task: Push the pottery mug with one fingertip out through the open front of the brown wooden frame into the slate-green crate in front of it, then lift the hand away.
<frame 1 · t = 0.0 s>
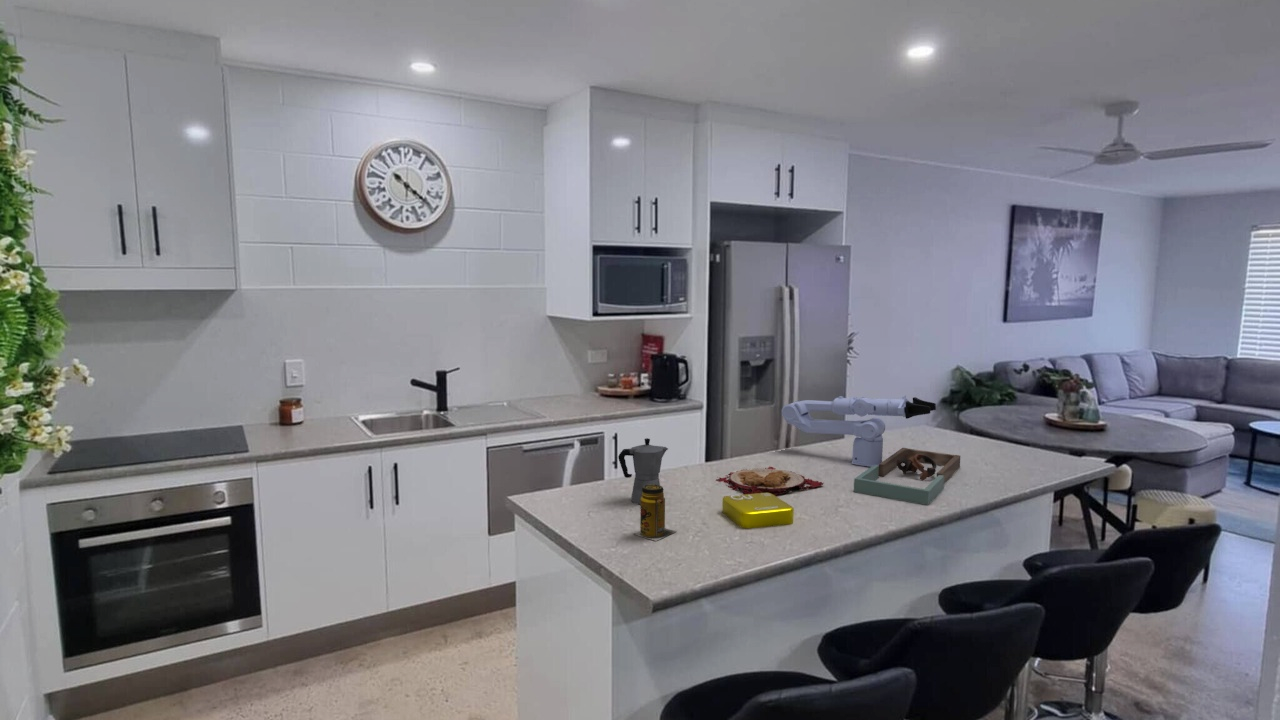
hand: (932, 408, 223), 22 cm above the countertop, tool horizontal, fingers open, 7 cm apart
plate with food: (764, 485, 214), on the countertop
element tile: (756, 518, 182), on the countertop
green crate: (899, 489, 207), on the countertop
coffeepot: (643, 501, 195), on the countertop
condiment: (655, 534, 170), on the countertop
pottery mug: (914, 477, 222), on the countertop
brown wooden frame: (919, 472, 227), on the countertop
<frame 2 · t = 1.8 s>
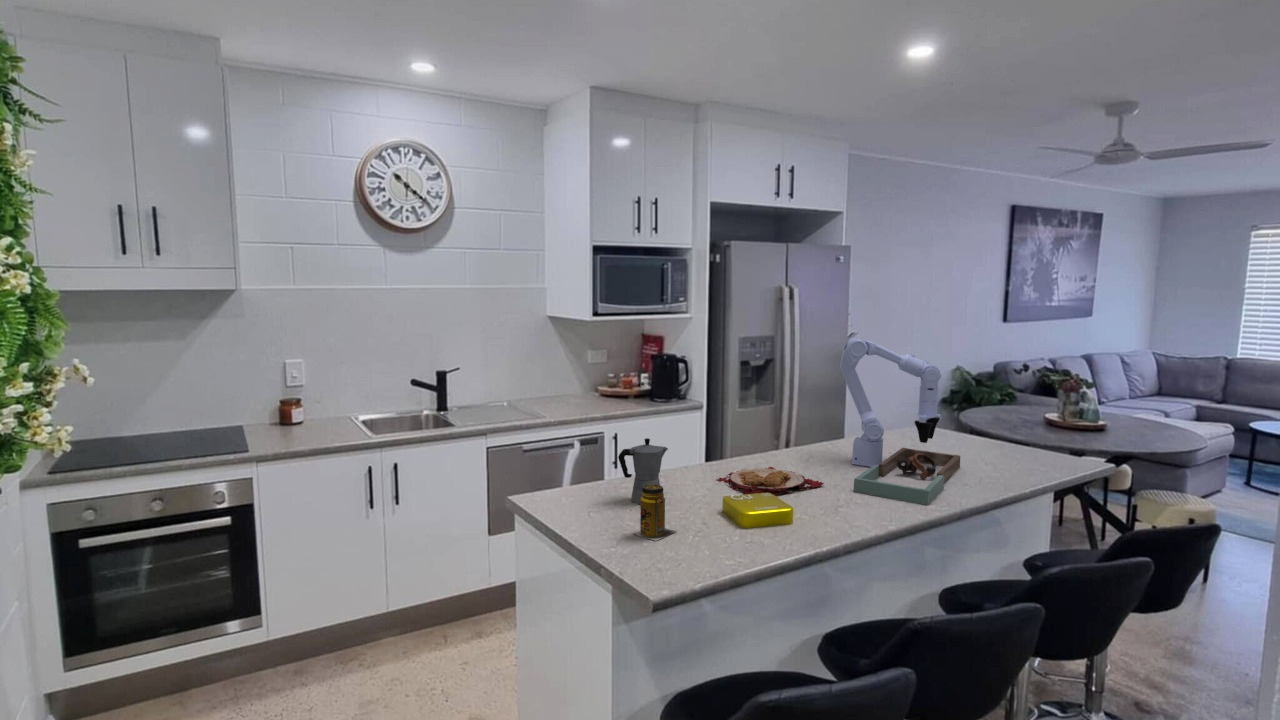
hand: (926, 440, 231), 9 cm above the countertop, tool pointing down, fingers open, 7 cm apart
nothing on the countertop moved.
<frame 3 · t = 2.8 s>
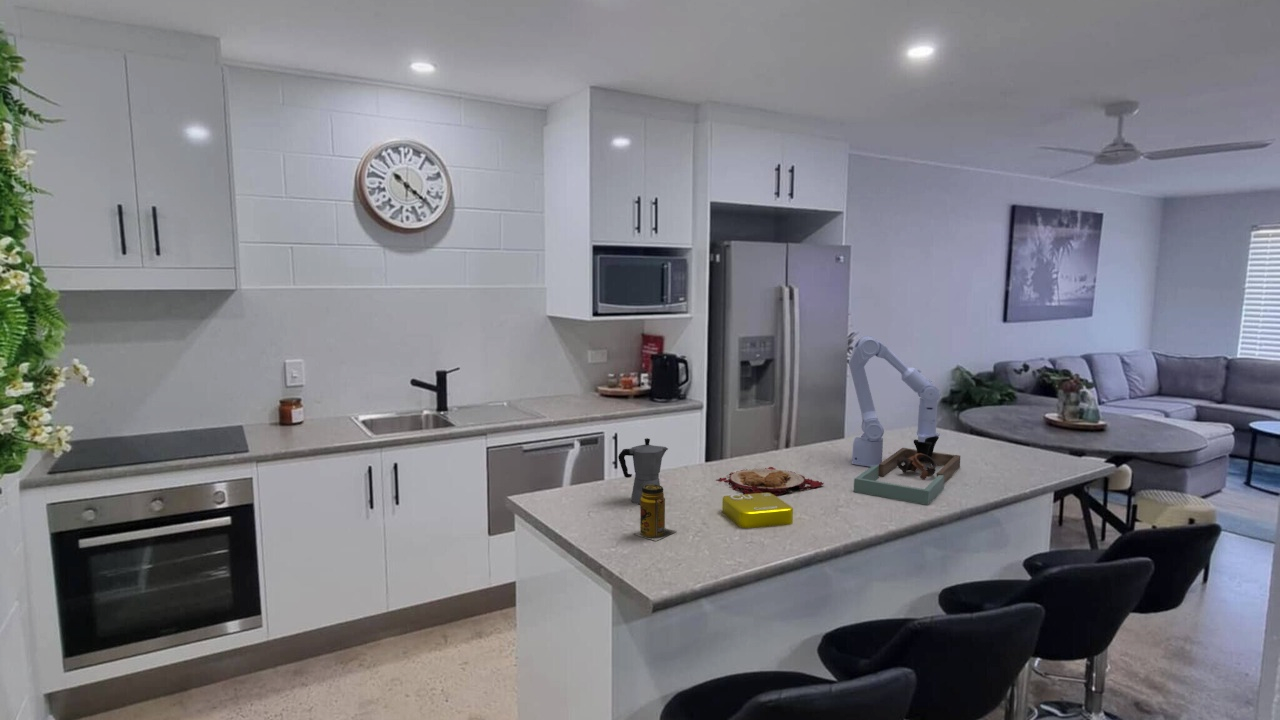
hand: (925, 459, 232), 3 cm above the countertop, tool pointing down, fingers open, 7 cm apart
nothing on the countertop moved.
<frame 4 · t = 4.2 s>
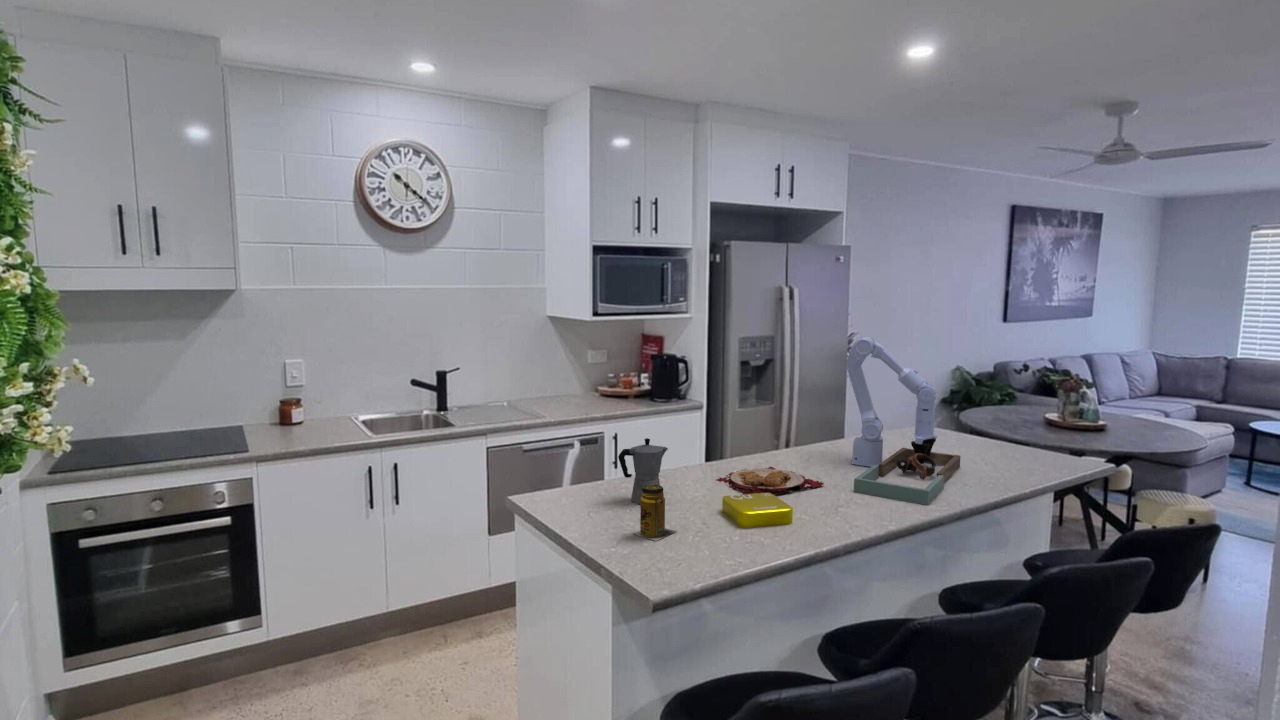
hand: (922, 461, 229), 3 cm above the countertop, tool pointing down, fingers open, 6 cm apart
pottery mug: (914, 476, 223), on the countertop, touching gripper
everything else where it was.
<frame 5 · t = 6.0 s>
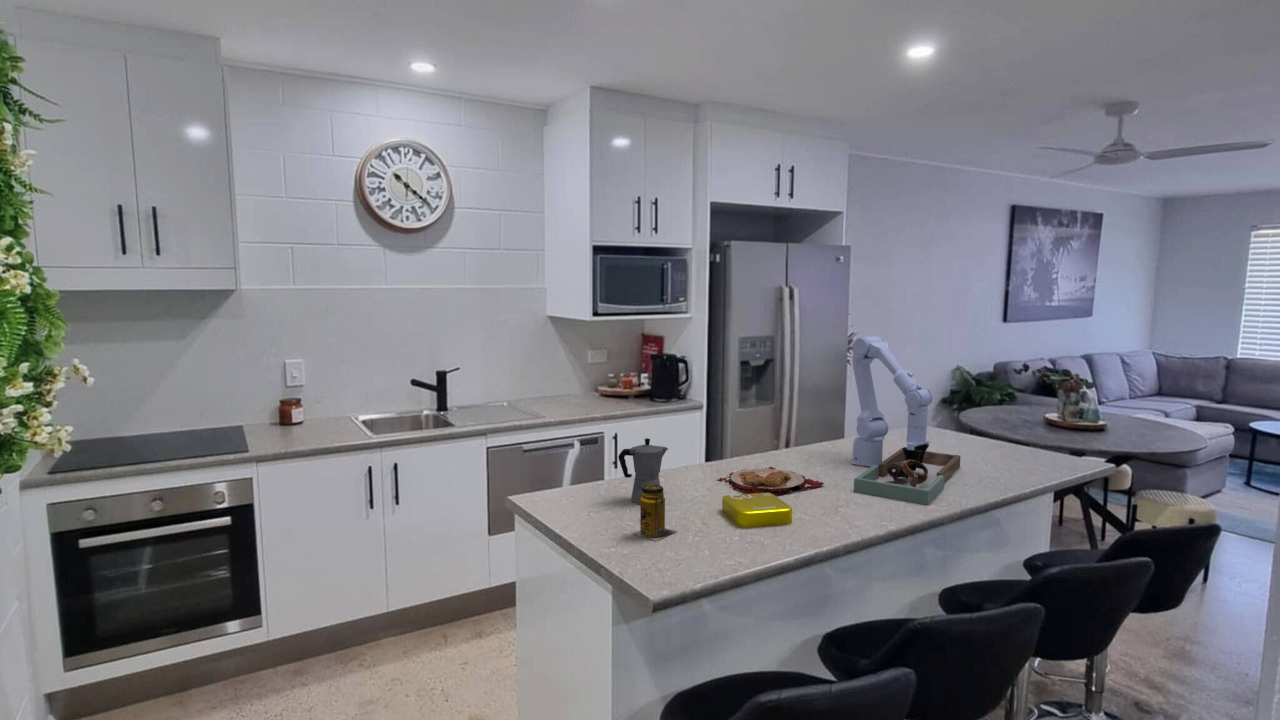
hand: (914, 467, 221), 3 cm above the countertop, tool pointing down, fingers open, 7 cm apart
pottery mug: (905, 483, 214), on the countertop, touching gripper
everything else where it was.
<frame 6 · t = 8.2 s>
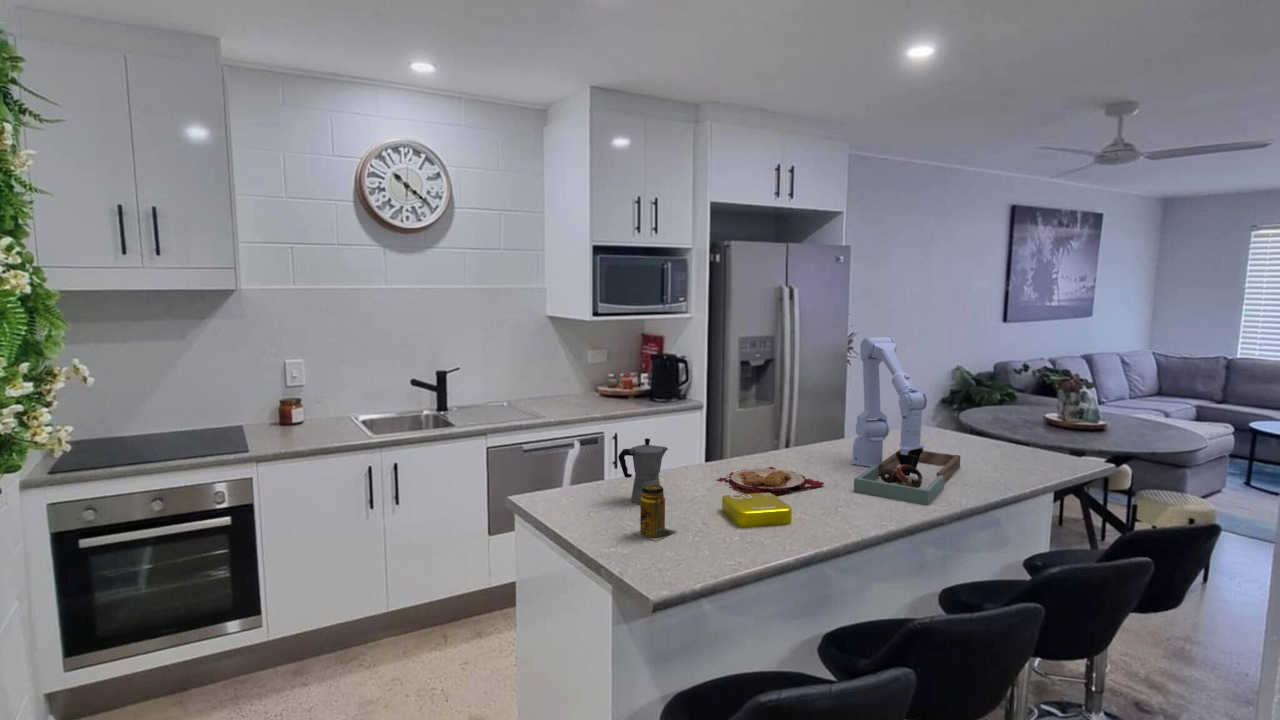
hand: (908, 472, 215), 3 cm above the countertop, tool pointing down, fingers open, 7 cm apart
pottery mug: (899, 489, 209), on the countertop, touching gripper
everything else where it was.
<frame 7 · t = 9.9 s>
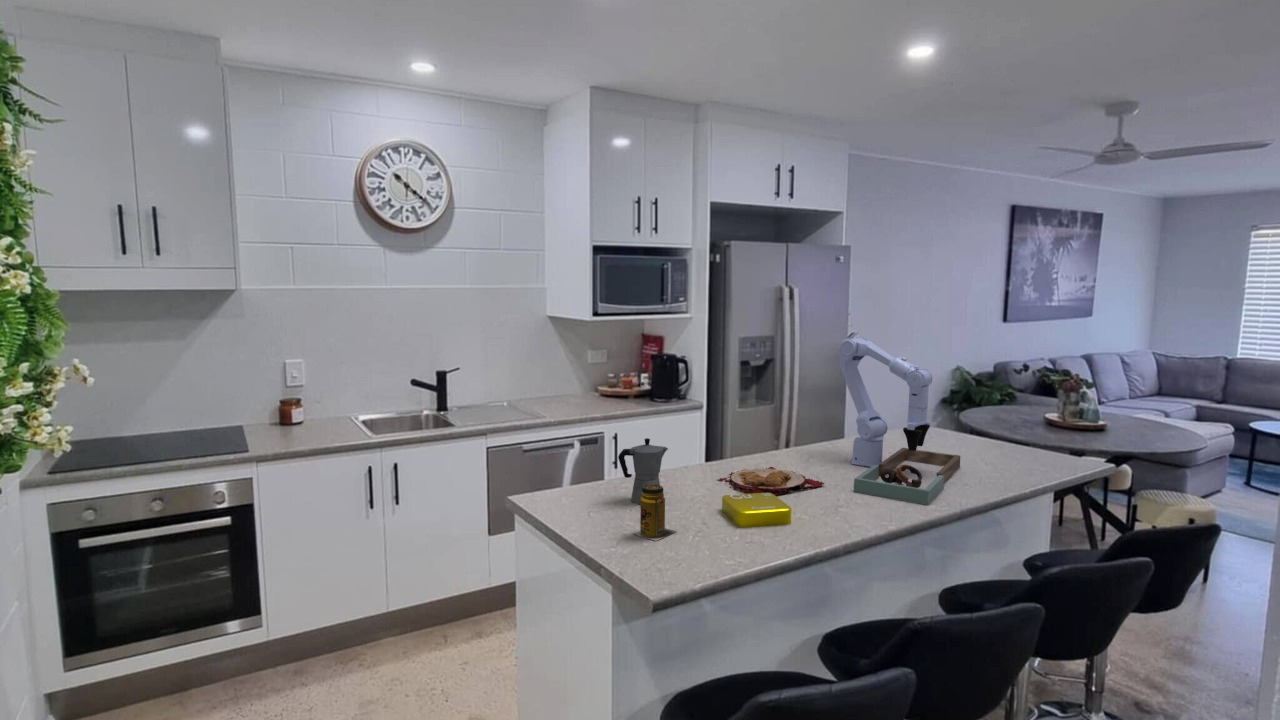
hand: (915, 448, 223), 9 cm above the countertop, tool pointing down, fingers open, 7 cm apart
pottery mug: (899, 489, 209), on the countertop
everything else where it was.
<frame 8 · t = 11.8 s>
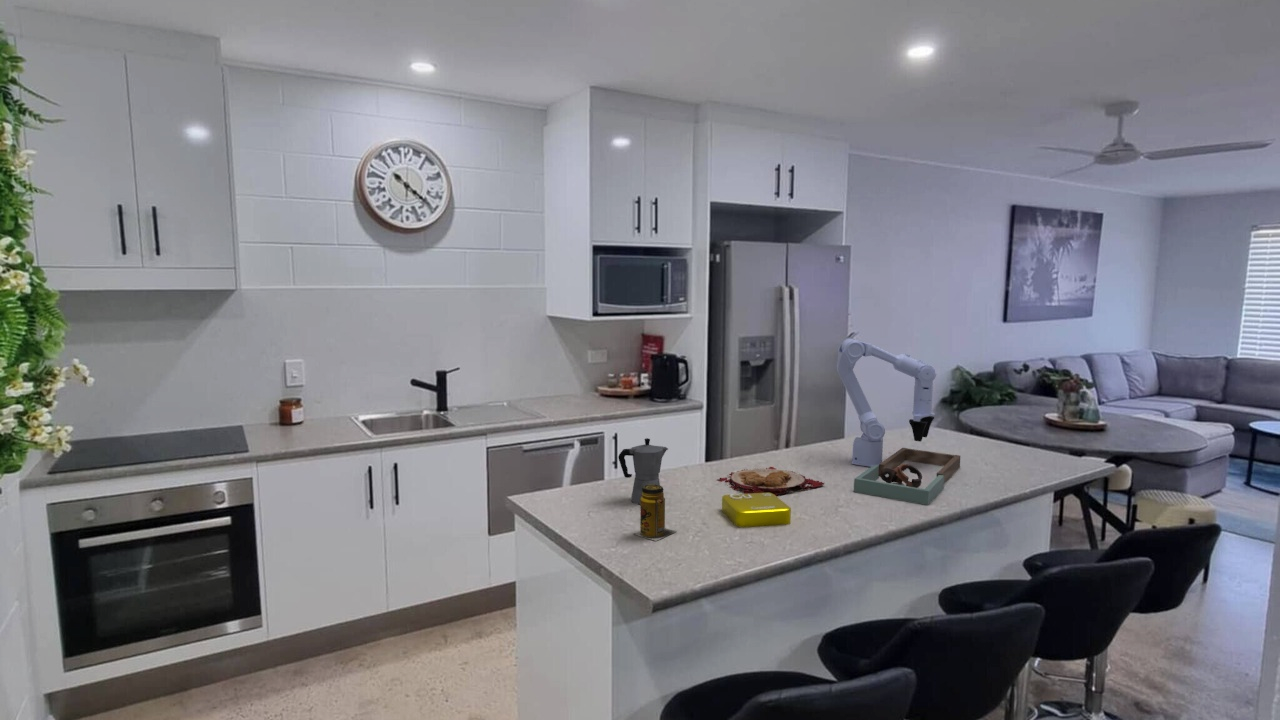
hand: (920, 439, 233), 9 cm above the countertop, tool pointing down, fingers open, 7 cm apart
nothing on the countertop moved.
at the end: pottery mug inside the target area (1.7 cm from its centre), on the countertop; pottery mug tilted 1° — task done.
